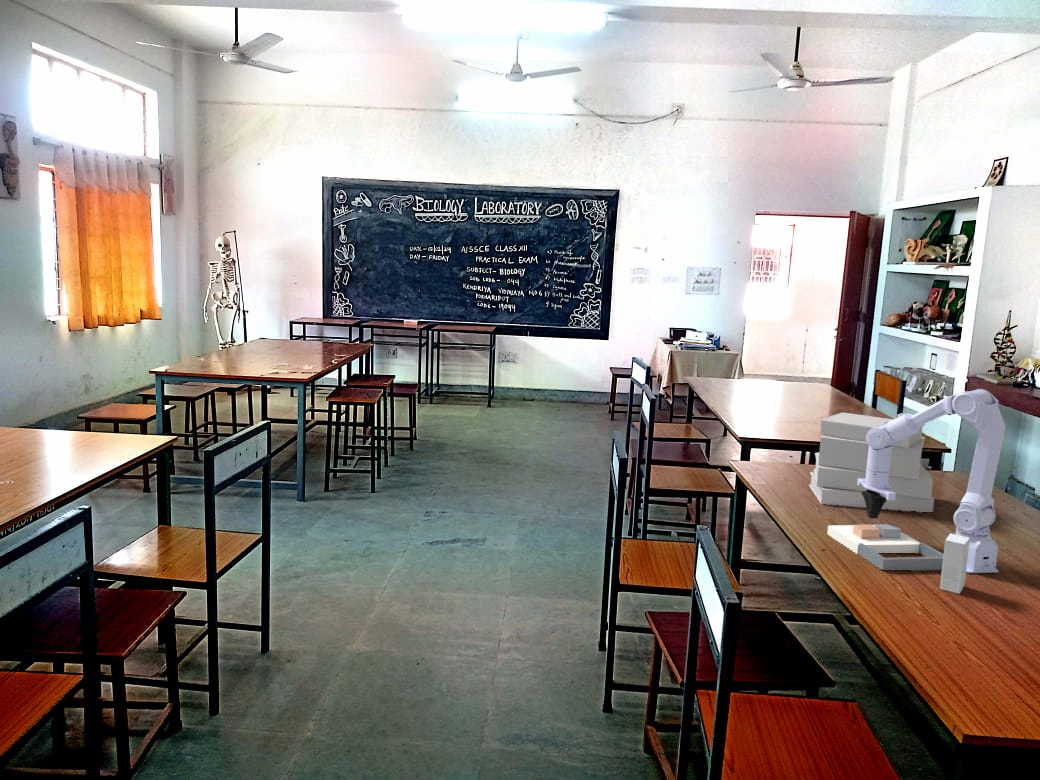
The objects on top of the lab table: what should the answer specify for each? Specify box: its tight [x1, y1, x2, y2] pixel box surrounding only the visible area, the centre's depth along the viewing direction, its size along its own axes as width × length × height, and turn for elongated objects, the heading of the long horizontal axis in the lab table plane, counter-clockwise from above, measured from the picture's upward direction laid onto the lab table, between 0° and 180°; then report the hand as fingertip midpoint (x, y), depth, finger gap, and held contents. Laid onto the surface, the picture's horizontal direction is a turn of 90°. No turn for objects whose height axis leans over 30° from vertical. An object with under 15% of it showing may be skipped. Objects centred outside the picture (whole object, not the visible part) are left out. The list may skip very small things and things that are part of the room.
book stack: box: [808, 411, 935, 513], centre depth 241 cm, size 30×35×26 cm
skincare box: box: [939, 533, 970, 595], centre depth 173 cm, size 6×4×12 cm
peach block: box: [853, 524, 880, 539], centre depth 199 cm, size 4×5×2 cm
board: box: [826, 524, 920, 555], centre depth 201 cm, size 15×18×2 cm
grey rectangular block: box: [874, 523, 902, 539], centre depth 200 cm, size 4×5×2 cm
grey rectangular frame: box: [857, 541, 944, 571], centre depth 188 cm, size 11×18×3 cm, turn 96°
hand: (872, 517), depth 207 cm, fingers closed
